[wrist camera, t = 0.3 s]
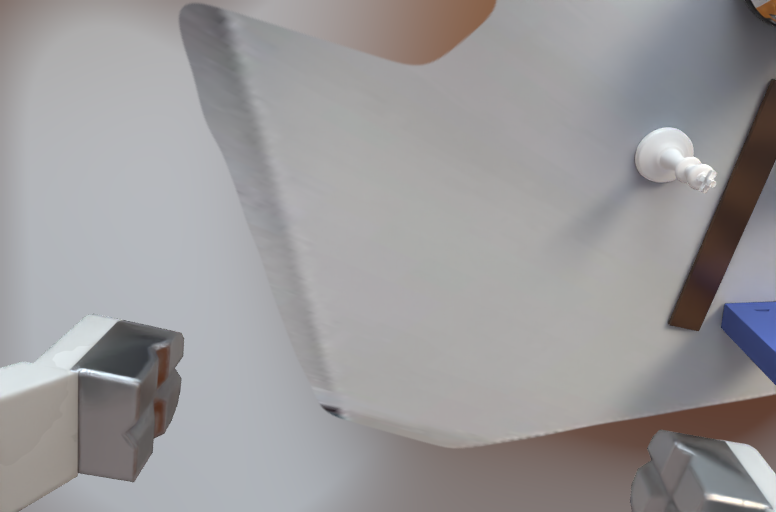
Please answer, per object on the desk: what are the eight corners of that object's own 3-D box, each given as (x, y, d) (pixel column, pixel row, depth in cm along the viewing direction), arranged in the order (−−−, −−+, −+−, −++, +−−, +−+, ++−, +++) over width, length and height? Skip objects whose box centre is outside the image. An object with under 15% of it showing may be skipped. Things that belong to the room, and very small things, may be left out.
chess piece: (625, 171, 55) (666, 204, 45) (650, 119, 53) (699, 142, 44) (674, 188, 55) (725, 224, 46) (701, 137, 53) (761, 163, 44)
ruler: (771, 79, 51) (774, 79, 51) (805, 86, 51) (808, 86, 51) (667, 323, 60) (669, 325, 60) (696, 329, 60) (699, 331, 60)
